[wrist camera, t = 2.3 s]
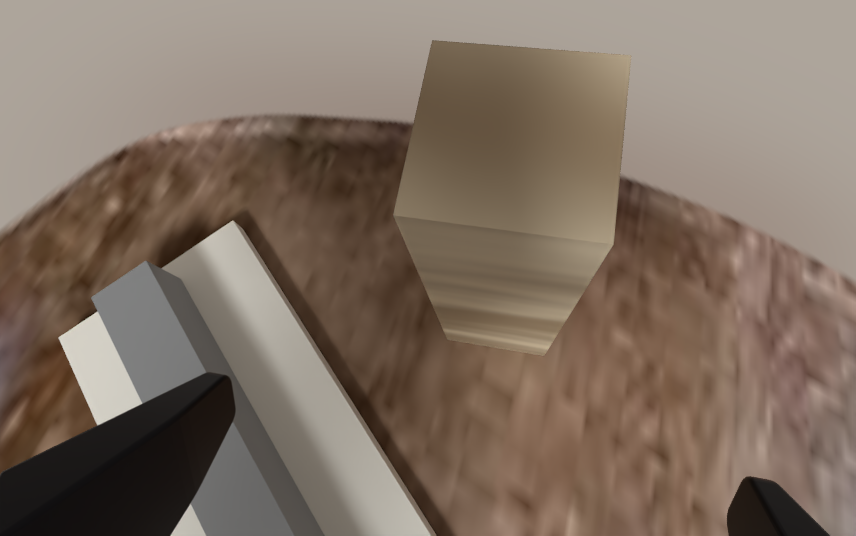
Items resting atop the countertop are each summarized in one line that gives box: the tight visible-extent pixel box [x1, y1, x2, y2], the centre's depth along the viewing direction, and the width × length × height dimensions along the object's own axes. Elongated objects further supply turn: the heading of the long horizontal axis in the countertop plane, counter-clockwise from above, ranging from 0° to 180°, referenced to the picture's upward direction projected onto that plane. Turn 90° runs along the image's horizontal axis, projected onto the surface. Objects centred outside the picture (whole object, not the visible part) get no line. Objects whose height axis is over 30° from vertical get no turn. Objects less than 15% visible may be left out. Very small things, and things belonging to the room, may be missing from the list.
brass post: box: [393, 41, 631, 356], centre depth 16 cm, size 4×4×13 cm
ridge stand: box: [59, 221, 437, 536], centre depth 19 cm, size 22×9×4 cm, turn 35°
